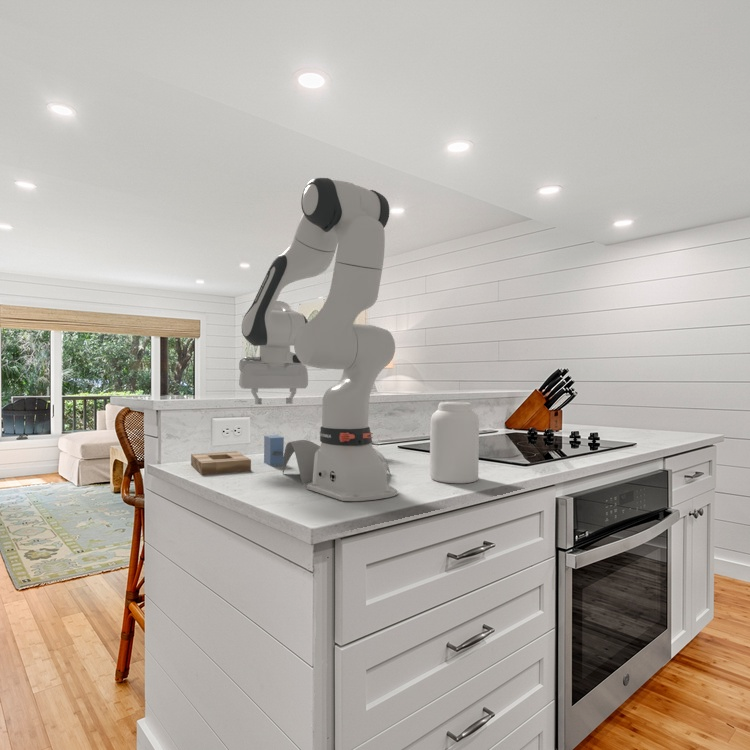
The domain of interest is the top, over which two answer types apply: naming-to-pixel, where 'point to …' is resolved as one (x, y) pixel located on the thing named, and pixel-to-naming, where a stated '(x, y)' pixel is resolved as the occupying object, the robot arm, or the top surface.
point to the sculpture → (308, 457)
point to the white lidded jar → (454, 443)
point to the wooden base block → (220, 462)
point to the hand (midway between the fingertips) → (273, 404)
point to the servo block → (273, 450)
